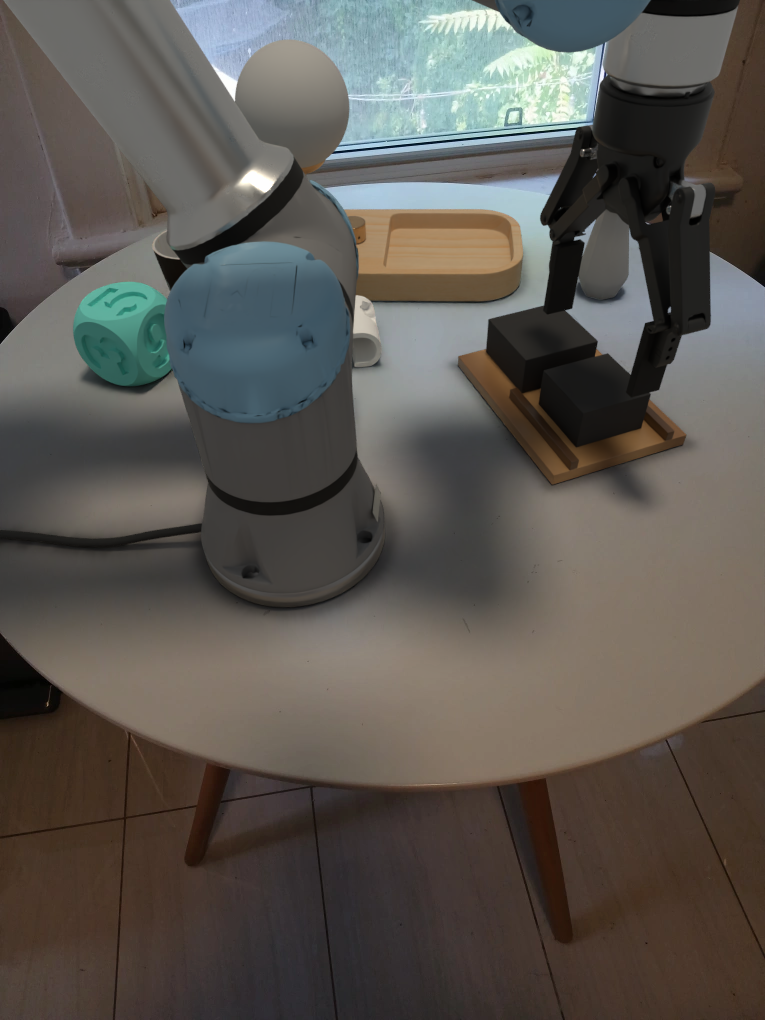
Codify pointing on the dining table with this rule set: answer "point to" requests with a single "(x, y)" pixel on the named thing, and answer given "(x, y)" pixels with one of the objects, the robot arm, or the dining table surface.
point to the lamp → (378, 232)
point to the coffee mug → (167, 260)
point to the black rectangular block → (591, 400)
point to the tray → (547, 438)
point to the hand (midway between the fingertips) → (597, 348)
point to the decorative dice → (123, 333)
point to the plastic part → (365, 334)
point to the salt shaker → (605, 257)
